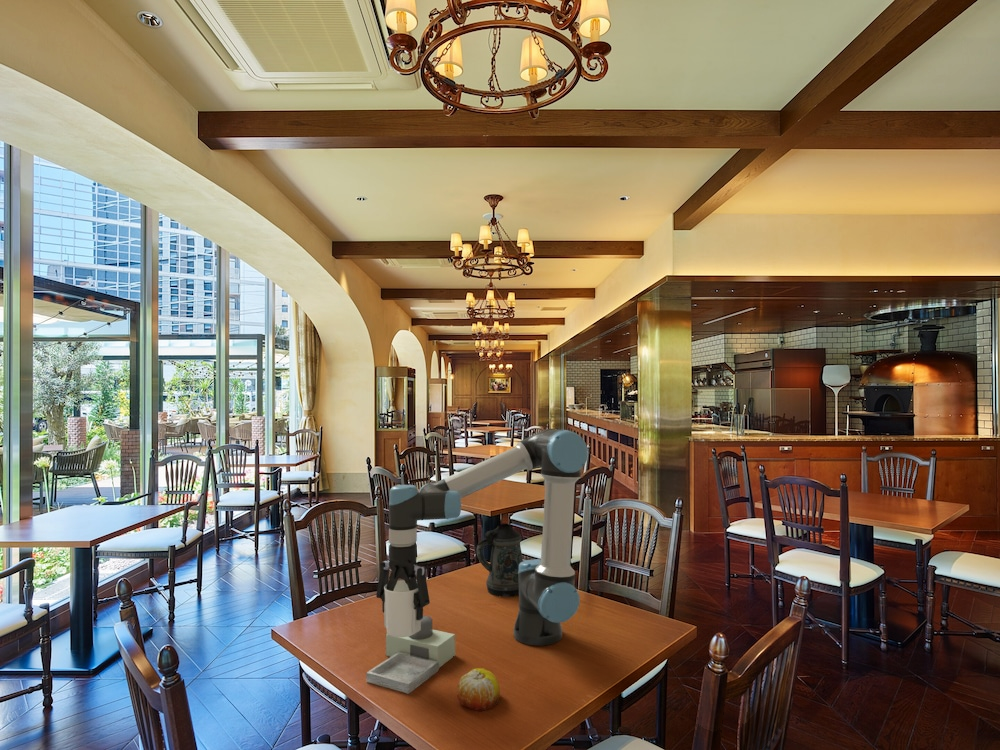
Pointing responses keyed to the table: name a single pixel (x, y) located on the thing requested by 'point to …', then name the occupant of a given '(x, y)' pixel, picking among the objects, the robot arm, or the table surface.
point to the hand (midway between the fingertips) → (402, 628)
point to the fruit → (478, 689)
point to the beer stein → (502, 560)
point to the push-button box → (424, 643)
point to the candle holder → (399, 609)
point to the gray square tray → (402, 672)
